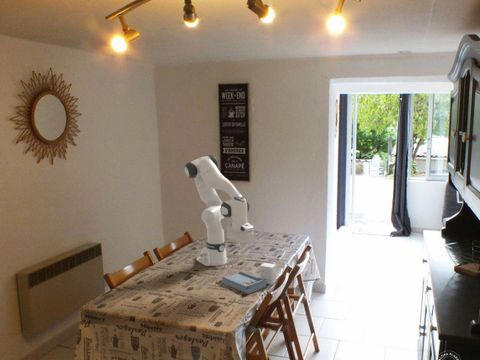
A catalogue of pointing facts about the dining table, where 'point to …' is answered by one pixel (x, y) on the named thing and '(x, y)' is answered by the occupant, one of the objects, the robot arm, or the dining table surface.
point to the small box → (268, 273)
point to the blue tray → (244, 282)
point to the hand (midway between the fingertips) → (239, 248)
